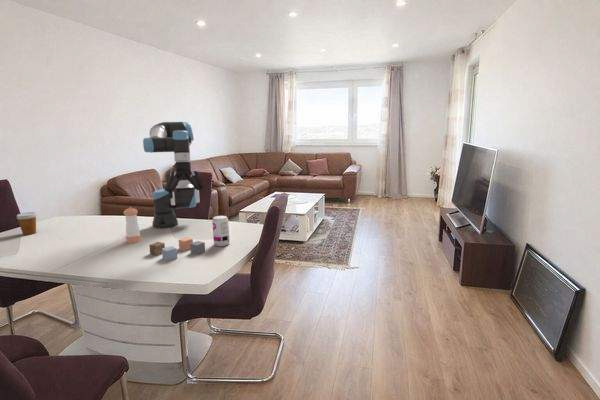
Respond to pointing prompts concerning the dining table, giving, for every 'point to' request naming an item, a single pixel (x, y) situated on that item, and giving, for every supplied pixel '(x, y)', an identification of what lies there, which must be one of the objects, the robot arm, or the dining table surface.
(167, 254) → the slate blue cube
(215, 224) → the supplement can
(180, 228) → the dining table surface
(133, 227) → the pepper shaker
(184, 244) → the terracotta cube
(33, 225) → the disposable coffee cup
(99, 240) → the dining table surface
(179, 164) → the robot arm
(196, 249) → the charcoal cube
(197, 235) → the dining table surface
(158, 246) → the walnut cube
